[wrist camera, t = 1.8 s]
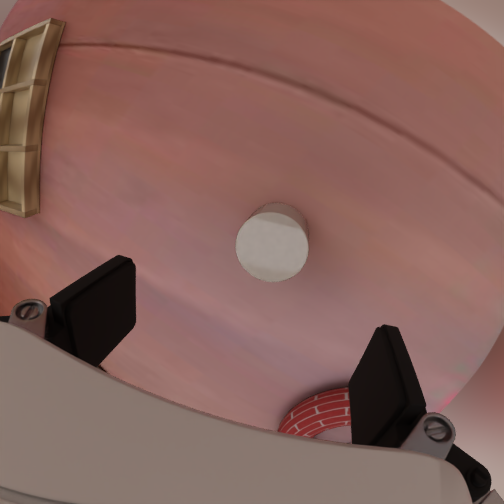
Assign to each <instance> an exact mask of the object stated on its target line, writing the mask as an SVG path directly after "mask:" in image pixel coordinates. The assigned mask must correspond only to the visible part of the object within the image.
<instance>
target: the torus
mask: <svg viewBox="0 0 504 504" xmlns="http://www.w3.org/2000/svg"><path fill="white" fill-rule="evenodd" d="M350 425H351V416H350V402H349V389H348V387H346V388H338V389H333V390H329V391H325V392H322V393H319V394H316V395H314V396H312V397H310V398H308V399H306V400H304V401H302V402H301V403H299V404H298V405H297V406H295V407H294V408H293V409H292V410H290V411H289V413H288V414H287V415H286V416H285V417H284V419H283V420H282V422H281V424H280V426H279V429H278V432H281V433H286V434H291V435H296V436H302V437H307V438H313V437H314V436H315V435H317V434H319V433H321V432H323V431H325V430H328V429H331V428H335V427H341V426H350Z"/></svg>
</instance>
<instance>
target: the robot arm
mask: <svg viewBox="0 0 504 504" xmlns="http://www.w3.org/2000/svg"><path fill="white" fill-rule="evenodd" d="M50 304H51V305H50V306H49V307H47V305H46V304H45V303H44V302H43V301H41V300H38V299H27V300H23V301H21V302H19V303H17V304H16V305H15V306H14V307H13V309H12V311H11V315H10V316H0V504H504V501H503V500H502V498H501V497H500V496H499V494H498V493H497V492H496V490H495V489H494V490H492V491H490V487H491V476H490V473H489V472H488V470H487V469H486V468H485V467H484V466H483V465H482V464H480V463H479V462H478V461H476V460H475V459H473V458H472V457H471V456H469V455H468V454H467V453H465V452H464V451H463V450H461V449H460V448H459V447H457V446H456V445H455V444H453V442H454V440H455V436H456V433H455V428H454V426H453V424H452V423H451V422H450V420H449V419H448V418H446V417H445V416H443V415H441V414H439V413H435V412H431V413H427V411H426V408H425V407H426V402H425V399H424V396H423V393H422V390H421V387H420V384H419V381H418V379H417V376H416V373H415V370H414V367H413V365H412V362H411V359H410V357H409V354H408V351H407V349H406V346H405V344H404V341H403V339H402V336H401V334H400V331H399V329H398V327H394V326H389V325H385V324H384V325H382V326H381V328H380V327H377V328H376V330H375V332H374V334H373V336H372V338H371V340H370V342H369V344H368V346H367V348H366V350H365V352H364V354H363V356H362V358H361V360H360V362H359V364H358V366H357V368H356V370H355V372H354V373H353V375H352V377H351V379H350V382H349V386H348V389H349V402H350V416H351V433H352V444H349V443H341V442H333V441H327V440H320V439H313V438H307V437H302V436H296V435H291V434H286V433H281V432H276V431H272V430H267V429H263V428H259V427H255V426H251V425H247V424H243V423H239V422H236V421H232V420H228V419H225V418H222V417H218V416H215V415H212V414H209V413H205V412H202V411H199V410H196V409H193V408H190V407H187V406H185V405H182V404H179V403H176V402H174V401H171V400H168V399H166V398H163V397H161V396H158V395H156V394H153V393H151V392H148V391H146V390H143V389H141V388H139V387H136V386H134V385H132V384H129V383H127V382H125V381H123V380H121V379H118V378H116V377H114V376H112V375H110V374H108V373H106V372H104V371H102V370H100V369H98V368H97V366H98V365H99V364H100V363H101V362H102V361H103V360H104V359H105V358H106V357H107V356H108V354H109V353H110V352H111V351H112V350H113V349H114V348H115V347H116V346H117V345H118V344H119V343H120V342H121V341H122V339H123V338H124V337H125V336H126V335H127V334H128V333H129V332H130V331H131V330H132V329H133V328H134V326H135V323H136V266H135V264H134V263H133V261H132V259H130V258H127V257H124V256H121V255H117V256H115V257H114V258H112V259H110V260H109V261H107V262H105V263H104V264H102V265H101V266H99V267H97V268H96V269H94V270H93V271H91V272H89V273H88V274H86V275H85V276H83V277H81V278H80V279H78V280H77V281H75V282H74V283H72V284H71V285H69V286H67V287H66V288H64V289H63V290H61V291H60V292H58V293H57V294H55V295H54V296H52V297H51V298H50Z"/></svg>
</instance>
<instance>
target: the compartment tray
mask: <svg viewBox="0 0 504 504" xmlns="http://www.w3.org/2000/svg"><path fill="white" fill-rule="evenodd" d="M64 25H65V22H63V21H59V20H56V19H53V18H50V19H48V20H45V21H43V22H41V23H39V24H36V25H34V26H32V27H30V28H28V29H26V30H24V31H21V32H19V33H17V34H16V35H14V36H12V37H10V38H8V39H6V40H4V41H3V42H1V43H0V210H3V211H6V212H9V213H11V214H14V215H17V216H20V217H23V218H27V217H30V216H32V215H35V214H38V213H40V208H39V173H40V152H41V139H42V129H43V121H44V113H45V106H46V100H47V94H48V88H49V83H50V78H51V74H52V69H53V65H54V61H55V57H56V53H57V49H58V45H59V42H60V38H61V35H62V32H63V28H64Z"/></svg>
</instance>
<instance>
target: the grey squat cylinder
mask: <svg viewBox="0 0 504 504" xmlns="http://www.w3.org/2000/svg"><path fill="white" fill-rule="evenodd" d="M235 247H236V254H237V257H238V260H239V262H240V263H241V265H242V267H243V268H244V269H245V270H246V271H247V272H248V273H249V274H250V275H252V276H253V277H255V278H257V279H259V280H262V281H267V282H280V281H284V280H287V279H290V278H292V277H293V276H295V275H296V274H297V273H298V272H299V271H300V270H301V269H302V268H303V266H304V265H305V263H306V260H307V258H308V252H309V230H308V225H307V223H306V221H305V219H304V217H303V216H302V214H301V213H300V212H299V211H297V210H296V209H295V208H293V207H292V206H289V205H287V204H283V203H270V204H266V205H263V206H261V207H260V208H258V209H257V210H256V211H255V212H254V213H253V214H252V215H251V216H250V217H249V218H248V219H247V221H246V222H245V223H244V224H243V225H242V227H241V228H240V230H239V232H238V234H237V237H236V244H235Z"/></svg>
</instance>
